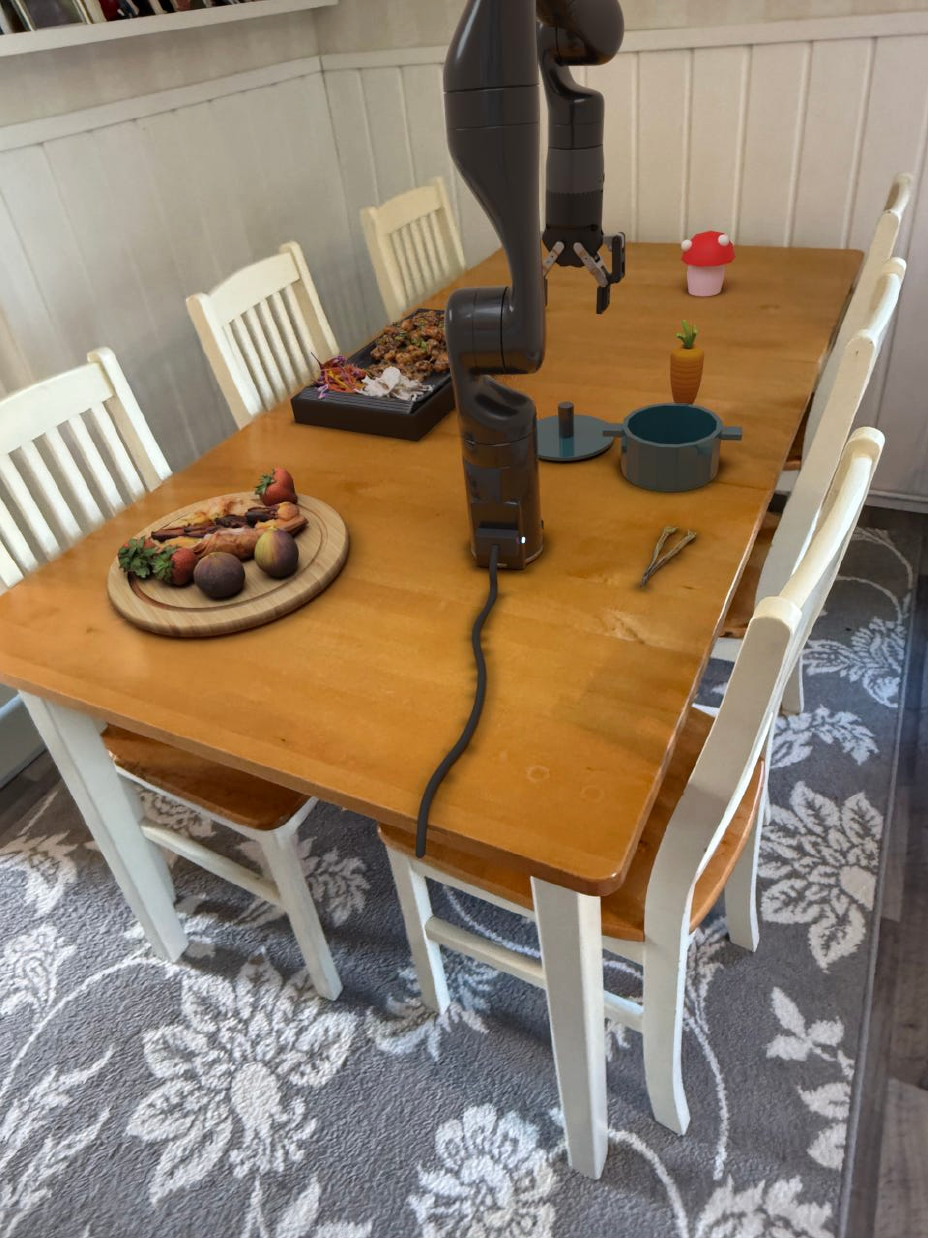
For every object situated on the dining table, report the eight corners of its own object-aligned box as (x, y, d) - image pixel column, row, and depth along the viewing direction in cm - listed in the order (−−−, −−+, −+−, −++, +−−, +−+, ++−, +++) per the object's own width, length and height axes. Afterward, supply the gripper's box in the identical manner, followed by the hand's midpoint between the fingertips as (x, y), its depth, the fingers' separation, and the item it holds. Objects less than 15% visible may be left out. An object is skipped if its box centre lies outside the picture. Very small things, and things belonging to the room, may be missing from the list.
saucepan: (737, 495, 116) (742, 448, 112) (597, 488, 121) (597, 444, 116) (738, 448, 126) (743, 404, 122) (609, 444, 131) (609, 401, 127)
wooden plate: (249, 483, 132) (235, 434, 127) (399, 541, 115) (390, 488, 110) (64, 587, 114) (39, 535, 109) (210, 676, 97) (189, 619, 92)
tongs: (632, 585, 102) (633, 571, 101) (666, 533, 111) (667, 520, 110) (666, 593, 101) (667, 579, 99) (697, 540, 110) (699, 526, 108)
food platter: (417, 441, 138) (409, 380, 131) (295, 422, 148) (281, 365, 141) (529, 339, 168) (526, 285, 162) (421, 329, 178) (415, 278, 172)
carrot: (699, 423, 133) (707, 328, 124) (667, 423, 134) (672, 329, 125) (699, 409, 137) (706, 316, 128) (667, 409, 138) (672, 317, 129)
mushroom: (668, 290, 182) (671, 230, 175) (710, 278, 186) (715, 219, 178) (699, 302, 175) (704, 241, 167) (742, 290, 178) (749, 229, 170)
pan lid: (607, 466, 126) (608, 427, 122) (511, 462, 129) (508, 425, 125) (619, 421, 136) (619, 385, 133) (529, 419, 140) (527, 383, 136)
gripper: (512, 188, 110) (515, 314, 120) (620, 191, 106) (613, 323, 115) (532, 176, 116) (532, 298, 126) (635, 179, 111) (627, 305, 121)
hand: (571, 310), depth 121 cm, fingers open, 8 cm apart
